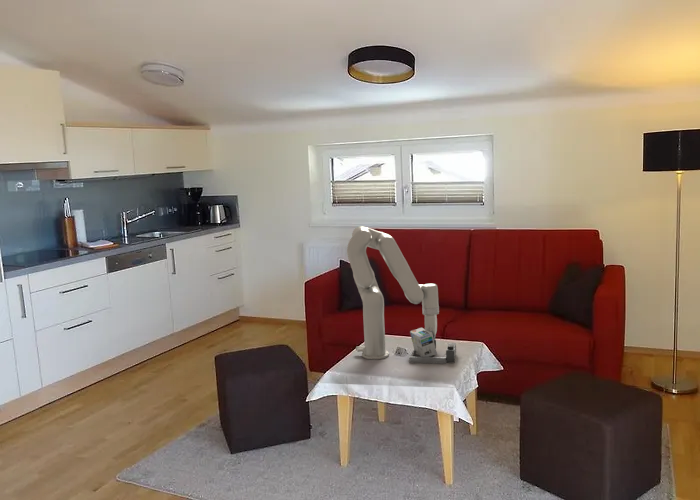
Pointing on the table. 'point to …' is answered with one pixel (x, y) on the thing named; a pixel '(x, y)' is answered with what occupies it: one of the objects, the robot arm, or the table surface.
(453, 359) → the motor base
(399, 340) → the table surface
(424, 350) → the light bulb box
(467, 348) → the table surface
